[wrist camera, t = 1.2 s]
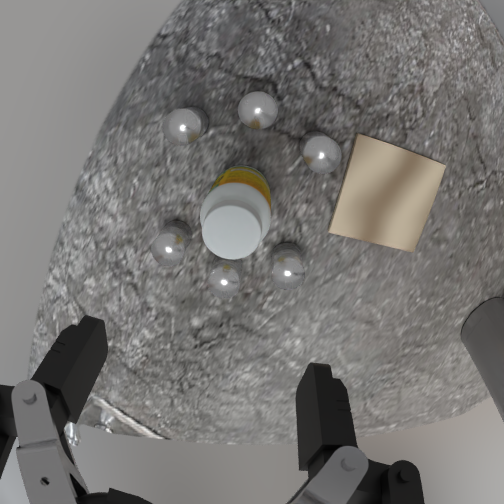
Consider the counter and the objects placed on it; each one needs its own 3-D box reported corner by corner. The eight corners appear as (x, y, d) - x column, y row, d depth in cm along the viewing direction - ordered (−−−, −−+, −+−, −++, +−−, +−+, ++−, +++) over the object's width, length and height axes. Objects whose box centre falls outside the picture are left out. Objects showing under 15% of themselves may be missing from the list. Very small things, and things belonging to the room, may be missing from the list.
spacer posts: (341, 111, 25) (352, 114, 22) (290, 288, 34) (293, 311, 31) (183, 80, 25) (170, 78, 21) (161, 262, 34) (150, 282, 30)
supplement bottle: (261, 224, 31) (258, 277, 23) (208, 209, 31) (185, 258, 22) (277, 172, 28) (282, 209, 20) (221, 157, 28) (200, 186, 20)
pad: (443, 164, 27) (445, 165, 26) (411, 249, 31) (413, 252, 31) (356, 132, 26) (358, 133, 26) (327, 230, 31) (328, 232, 30)
